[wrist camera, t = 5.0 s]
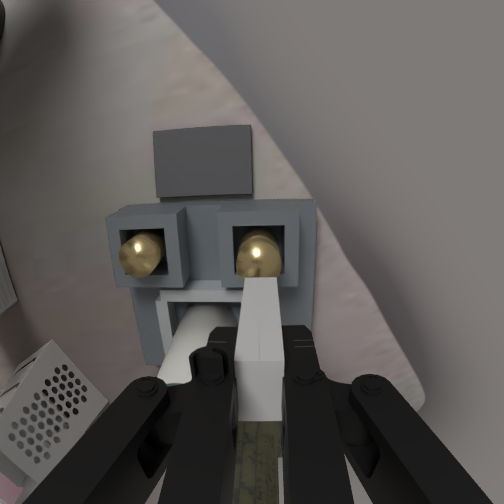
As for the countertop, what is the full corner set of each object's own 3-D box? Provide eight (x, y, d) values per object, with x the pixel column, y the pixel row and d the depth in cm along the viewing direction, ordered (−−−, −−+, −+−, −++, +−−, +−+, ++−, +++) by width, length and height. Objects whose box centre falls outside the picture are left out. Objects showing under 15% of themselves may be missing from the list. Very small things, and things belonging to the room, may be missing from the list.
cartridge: (179, 296, 28) (117, 425, 13) (235, 297, 27) (214, 436, 13) (186, 343, 29) (141, 475, 15) (238, 344, 29) (223, 485, 15)
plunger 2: (239, 228, 23) (235, 244, 20) (278, 227, 23) (281, 243, 20) (240, 264, 24) (236, 286, 21) (278, 264, 24) (281, 286, 20)
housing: (128, 205, 27) (103, 217, 22) (312, 199, 27) (323, 210, 22) (151, 353, 32) (137, 383, 27) (305, 355, 32) (312, 387, 27)
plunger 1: (135, 226, 25) (116, 240, 21) (168, 225, 25) (152, 239, 21) (140, 259, 26) (122, 277, 22) (171, 259, 26) (157, 278, 22)
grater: (52, 339, 32) (-42, 452, 13) (108, 400, 35) (48, 526, 16) (18, 364, 34) (-57, 457, 15) (67, 417, 37) (12, 518, 18)
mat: (155, 131, 25) (152, 131, 25) (250, 125, 25) (250, 124, 24) (158, 196, 27) (156, 197, 26) (252, 192, 27) (252, 193, 26)
